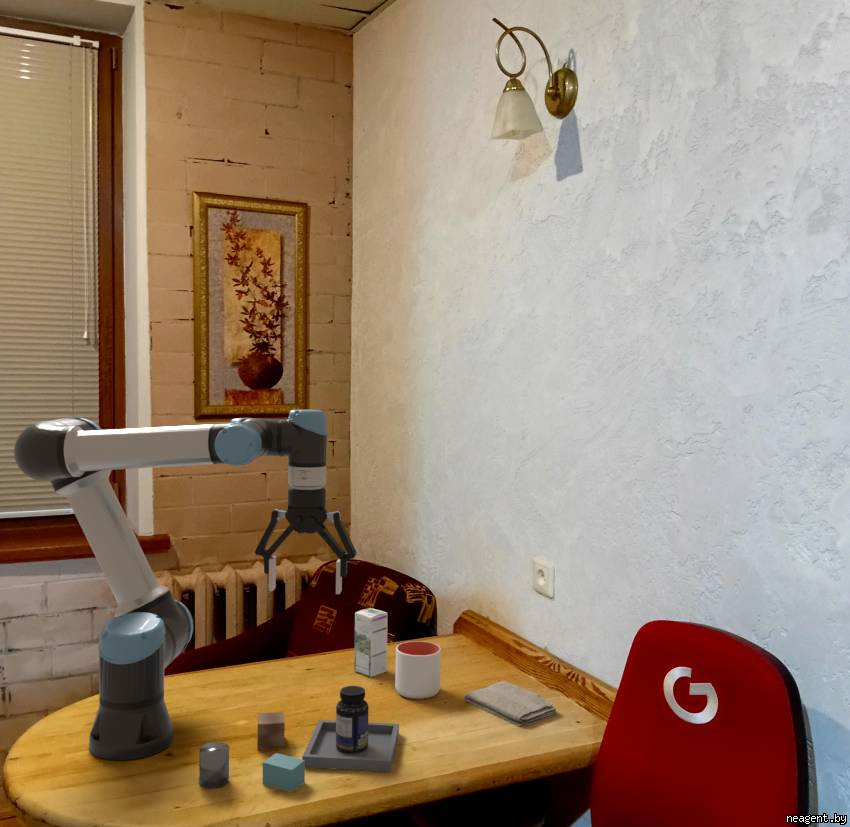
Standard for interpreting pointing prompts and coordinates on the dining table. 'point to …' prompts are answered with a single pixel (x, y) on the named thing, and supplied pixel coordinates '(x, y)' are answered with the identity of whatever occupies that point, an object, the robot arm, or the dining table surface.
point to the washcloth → (512, 703)
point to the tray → (371, 759)
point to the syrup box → (370, 642)
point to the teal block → (283, 772)
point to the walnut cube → (270, 730)
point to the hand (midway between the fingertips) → (305, 591)
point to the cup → (417, 669)
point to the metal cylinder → (214, 765)
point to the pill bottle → (352, 720)
